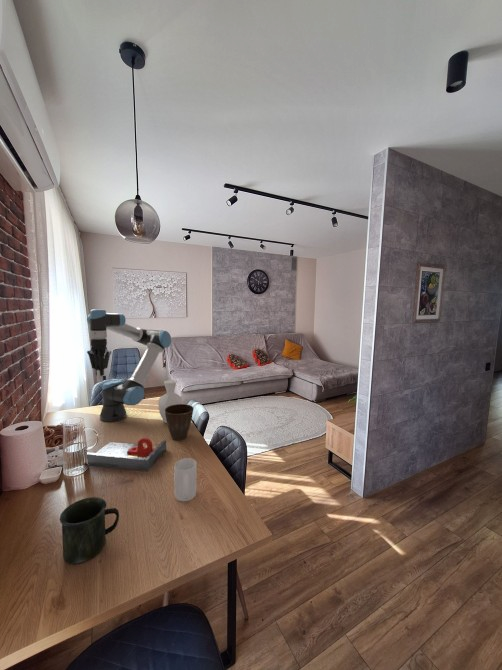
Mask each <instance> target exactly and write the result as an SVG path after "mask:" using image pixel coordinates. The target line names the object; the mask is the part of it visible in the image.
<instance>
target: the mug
mask: <svg viewBox="0 0 502 670" xmlns="http://www.w3.org/2000/svg"><path fill="white" fill-rule="evenodd" d="M110 514H111V515H112V514H115V516H116V517H115V519H114V521H113V524H111V526H109V527H107V528H106V515H110ZM119 518H120V511H119V509H118V508H116V507H110V508H107V502H106V500H105V499H104V498H102V497H100V496H99V497H98V496H91V497H85V498H82V499H79V500H77V501H74V502H73V503H71V504H70V505H68V506H67V507H66V508H65V509H63V511H62V512H61V513H60V516H59V523H60V524H61V534H62V535H61V536H62V537H61V538H62V556H63V559H64V561H65V562H67V563H69V564H74V565H76V564H82V563H85V562H87V561H89V560H91V559H93V558H94V557H96V556H97V555H98V554H99V553H100V552H101V550H102V549H103V548H104V546H105V545H106V541H107V539H106V535H109V534H110V533H111V532H113V531H114V530H115V529H116V527H118V523H119V520H120V519H119Z"/></svg>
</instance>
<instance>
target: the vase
mask: <svg viewBox="0 0 502 670" xmlns="http://www.w3.org/2000/svg"><path fill="white" fill-rule="evenodd" d="M163 383H164V387H165V390H166V393H165V394H163V395H162V396H161V397H159V399H158V411H159V415H160V417H161V418H162V421H163V422H164V423H165V424H167V421H166V415H165V409H166V408H167V407H169V406H172V405H177V404H183V397H182V396H180V394H178V393H176V392H175V390H176V386H177V380H175V379H168V380H167V379H166V380H164V382H163Z"/></svg>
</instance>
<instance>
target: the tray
mask: <svg viewBox="0 0 502 670" xmlns="http://www.w3.org/2000/svg"><path fill="white" fill-rule="evenodd" d="M137 444H138V443H136V444H135V443H123V442H113V441H110V442H108V443H107V444H105V445H104V446H103V447H101V448H100V449H99V450H97V451H96V452H87V451H86V452H87V459H88V464H89V465H88V466H91V467H92V466H93V467H102V468H112V469H121V470H122V469H123V470H132V471H140V472H149V470H151V468H152V467H153V466H154V465H155V464H156V463H157V461H158V460H160V458H161V457H162V456H163V454H164V453H165V452H166V451H167V440H166V439H163V440H162V441H160V443H159V444H158V445H156V446H155V445H152V448H153V449H154V450H153V451H152V452H151V453H150V454H149V455H148V456H146V455H136V454H127V451H128V450H129V449H130V448H132V447H137ZM143 447H145V448H147V444H145V445H144V444H143Z"/></svg>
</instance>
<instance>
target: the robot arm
mask: <svg viewBox="0 0 502 670" xmlns="http://www.w3.org/2000/svg"><path fill="white" fill-rule="evenodd" d="M86 321H87V323H88V324H89V326H90V327H89V328H90V329H89V330H90V338H91V339H90V346H91V348H90V349H89V350H87V351H86V353H87V355H88V357H89V362H90V366H91V368H92V369H93V370H95V376H96V382H97V383H100V382H103V381H104V374H105V369H108V367H109V361H110V357H111V355H112V351H111V350H108V347H107V345H108V341H107V337H108V335H107V332H108V331H111V332H114V333H116V334H118V335H121V336H123V337H127V338H130V339H131V340H132V341H134V342H137V343H139V344H140V345H141V344H142V345H143V346H147V348H146V349H145V351H144V353H143V354H142V356H141V358H140V360H139V362H138V363H137V365H136V367H135V369H134V371H133V372H132V375H131V376H130V378H128V379H126V380H125V381H123V380H122V379H120V380H119V379H118V380H112V381H106V382H104V383H103V384H102V386H101V395H102V396H101V397H102V408H101V411H100V414H99V420H100V421H102V422H105V423H106V422H115V421H120V420H123V419H125V418H126V417H127V410H126V407H125V405H126V406H136V405H138V404H139V403H141V402H142V400H143V399H144V396H145V390H144V388H145V385H144V383H145V381H146V380H147V377H148V375H149V373H150V372H151V370H152V367H153V366H154V365H155V364H154V363H155V362H156V360H157V358H158V356H159V354H160V353H163V352H164V350H165V349H167V348H169V347H170V346H171V343H172V337H171V334H170V332H168V331H167V330H163V329H161V330H157V329H145V328H140V327H135V326H132V325H130V324H128V323H126V322H127V321H126V316H125V315H124V314H123V313H119V312H117V313H115V312H114V313H111V312H110V313H109V312H107V310H106V309H90V311H89V314H88V315H87V317H86ZM107 330H108V331H107Z"/></svg>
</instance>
